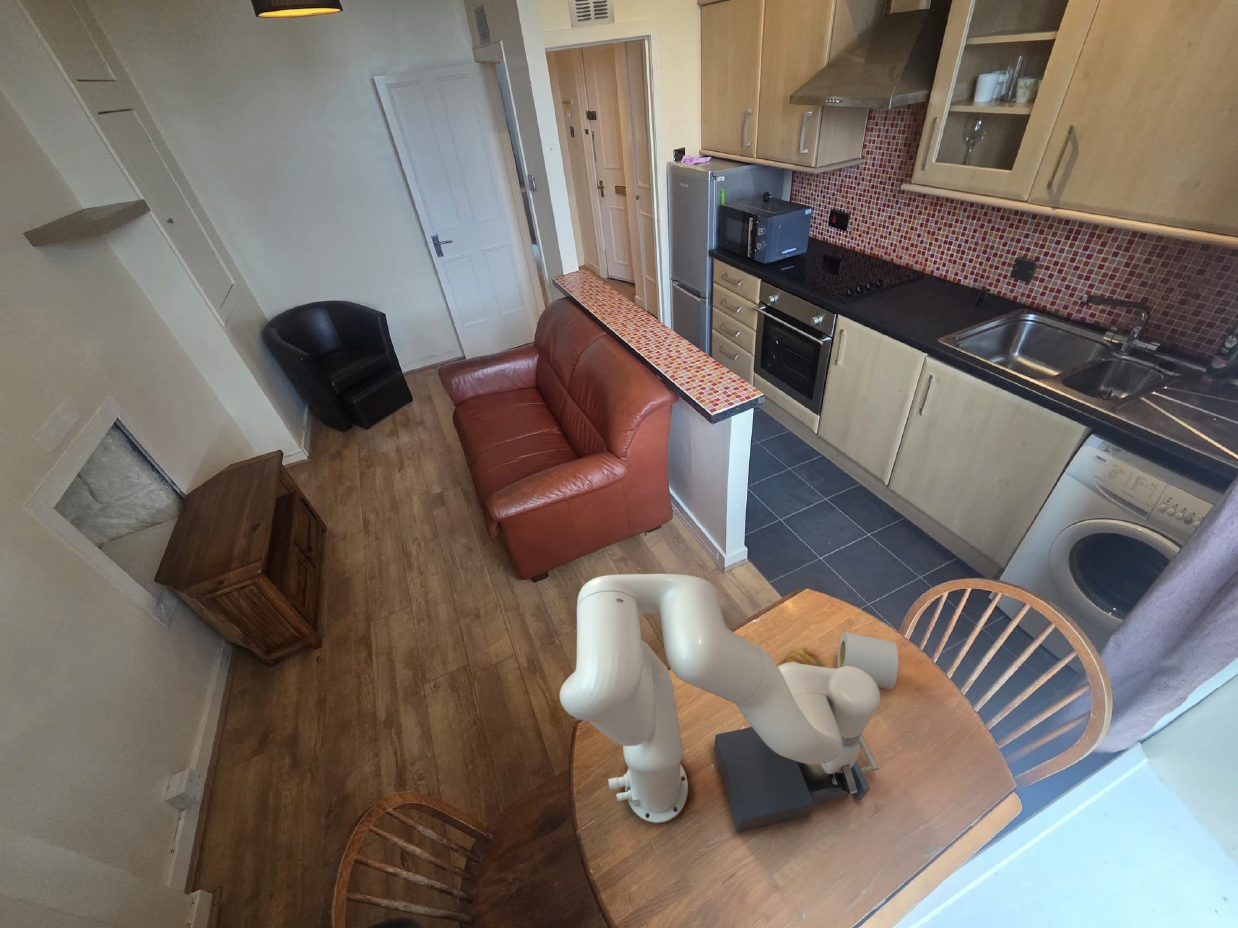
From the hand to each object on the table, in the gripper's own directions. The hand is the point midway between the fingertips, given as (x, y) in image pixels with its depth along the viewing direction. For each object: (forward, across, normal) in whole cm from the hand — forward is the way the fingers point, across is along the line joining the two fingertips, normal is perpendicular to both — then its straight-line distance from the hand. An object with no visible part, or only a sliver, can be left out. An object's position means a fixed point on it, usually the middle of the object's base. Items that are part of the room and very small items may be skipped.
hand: (821, 754), depth 97 cm
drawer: (+8, 0, +2) cm, 8 cm away
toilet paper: (+9, -17, +19) cm, 27 cm away
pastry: (+9, -20, +6) cm, 23 cm away
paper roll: (+7, 0, 0) cm, 7 cm away
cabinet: (+9, 0, -12) cm, 15 cm away
